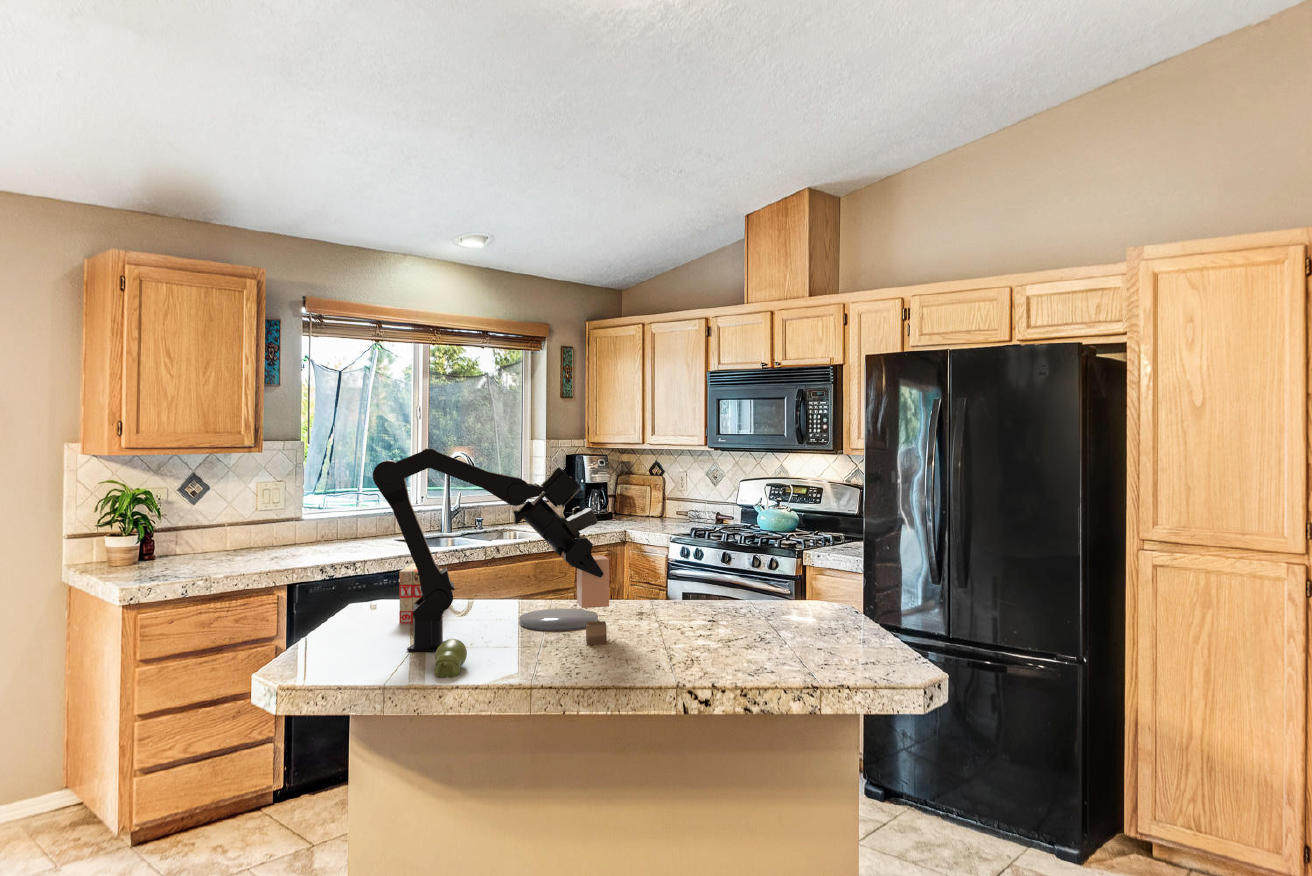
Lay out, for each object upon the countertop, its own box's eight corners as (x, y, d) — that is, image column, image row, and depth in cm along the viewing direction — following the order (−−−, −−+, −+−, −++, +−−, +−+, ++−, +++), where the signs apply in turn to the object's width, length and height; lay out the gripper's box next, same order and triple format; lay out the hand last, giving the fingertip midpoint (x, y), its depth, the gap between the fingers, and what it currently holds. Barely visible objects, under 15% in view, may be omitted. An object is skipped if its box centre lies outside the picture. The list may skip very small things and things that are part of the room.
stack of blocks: (423, 605, 213) (422, 556, 213) (447, 605, 214) (447, 556, 213) (399, 624, 192) (398, 570, 192) (426, 624, 192) (426, 570, 192)
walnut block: (606, 645, 172) (606, 625, 172) (587, 645, 172) (587, 626, 172) (605, 640, 176) (605, 621, 176) (586, 641, 176) (585, 621, 176)
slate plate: (590, 631, 183) (590, 626, 183) (509, 630, 185) (509, 624, 185) (604, 614, 201) (604, 609, 201) (530, 612, 203) (530, 607, 203)
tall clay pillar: (609, 606, 177) (609, 559, 177) (581, 608, 175) (581, 560, 175) (603, 601, 182) (603, 555, 182) (577, 602, 181) (577, 556, 181)
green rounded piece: (469, 634, 158) (460, 657, 148) (469, 661, 159) (461, 685, 149) (439, 634, 158) (428, 657, 148) (439, 661, 158) (429, 685, 149)
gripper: (582, 498, 169) (635, 551, 172) (567, 492, 187) (615, 540, 190) (543, 539, 166) (597, 592, 169) (531, 529, 184) (581, 577, 187)
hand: (599, 573), depth 179 cm, fingers closed on tall clay pillar, 6 cm apart
